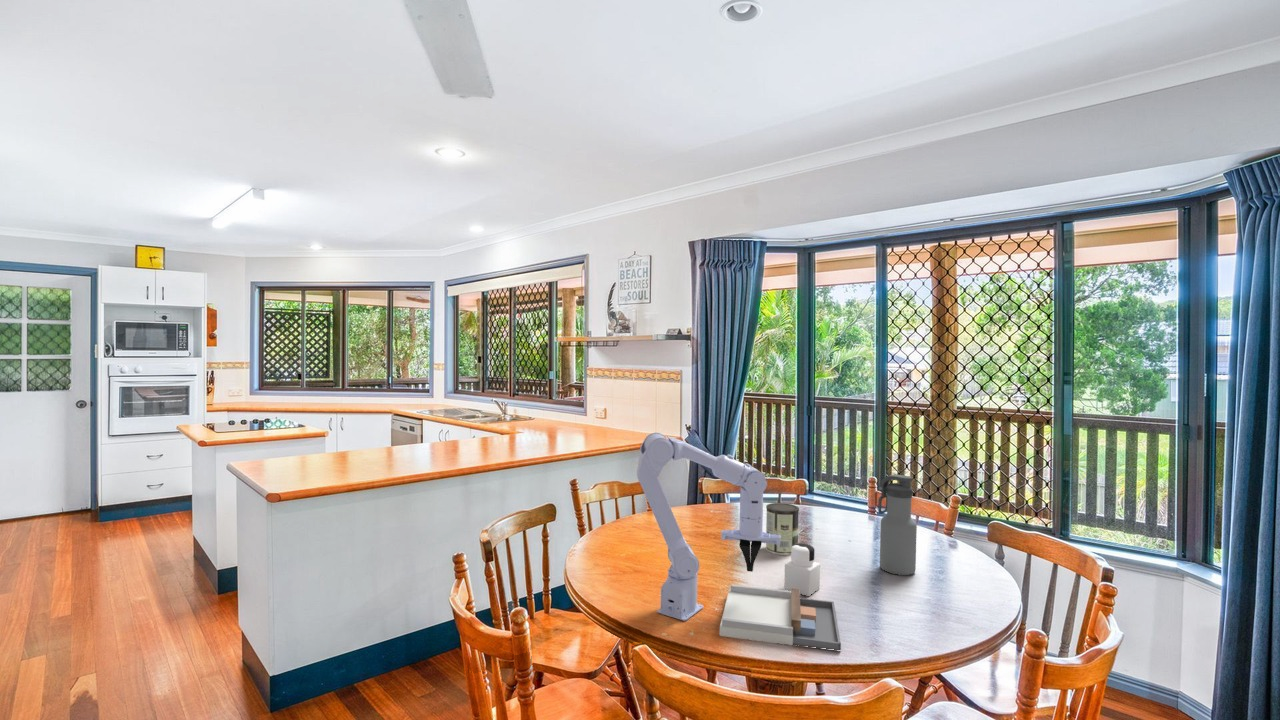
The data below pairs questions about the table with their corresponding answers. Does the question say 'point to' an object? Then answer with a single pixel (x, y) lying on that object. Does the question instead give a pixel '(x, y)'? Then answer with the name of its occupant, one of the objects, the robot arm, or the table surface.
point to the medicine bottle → (802, 570)
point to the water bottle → (897, 526)
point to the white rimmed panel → (758, 615)
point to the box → (820, 626)
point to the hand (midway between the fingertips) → (750, 570)
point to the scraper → (795, 610)
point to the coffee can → (782, 527)
